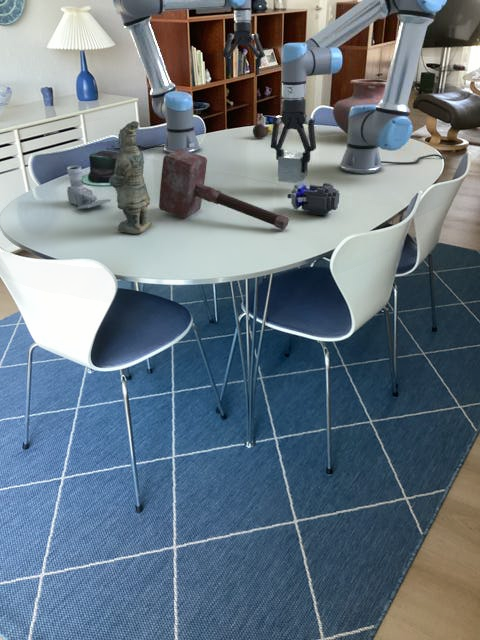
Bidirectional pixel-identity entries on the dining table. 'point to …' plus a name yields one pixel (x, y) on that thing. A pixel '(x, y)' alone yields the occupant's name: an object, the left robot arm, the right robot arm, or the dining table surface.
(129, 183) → the statue
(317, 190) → the toy
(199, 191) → the sledgehammer
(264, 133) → the figurine
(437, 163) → the dining table surface
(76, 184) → the grey piece
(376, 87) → the clay pot
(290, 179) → the metal block
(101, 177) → the green top hat
